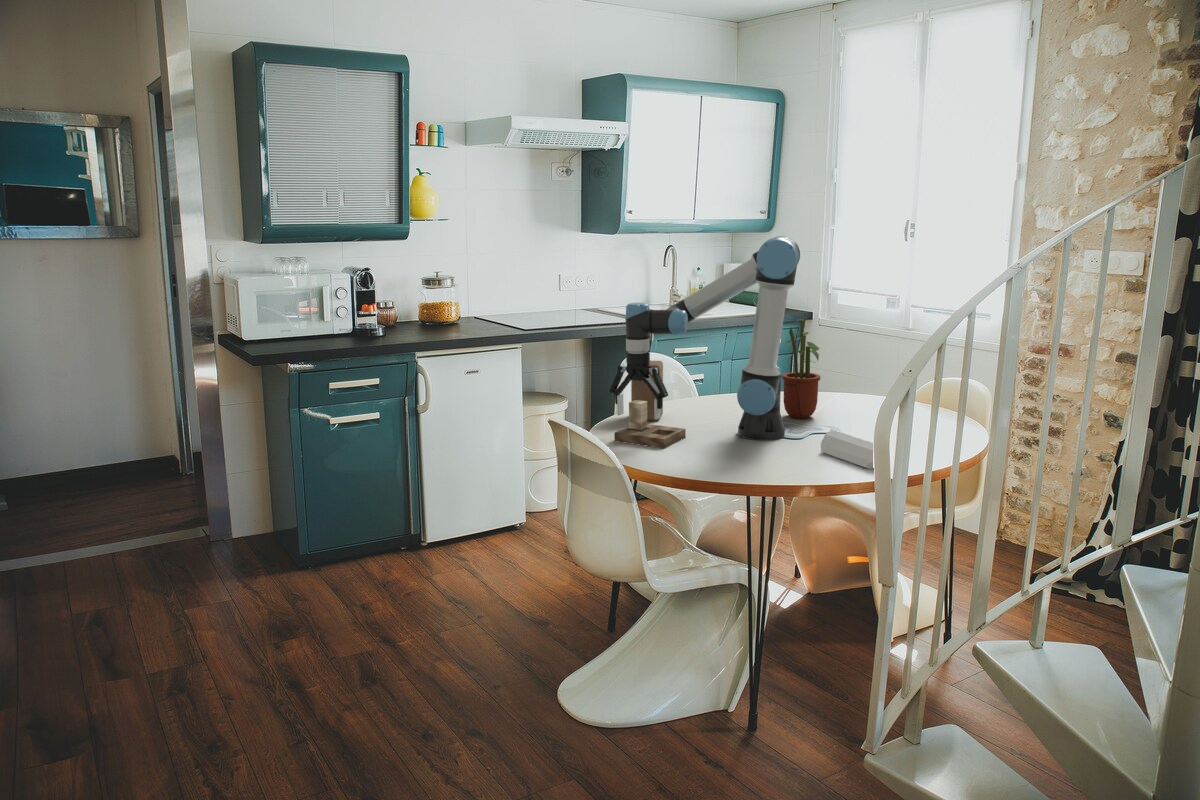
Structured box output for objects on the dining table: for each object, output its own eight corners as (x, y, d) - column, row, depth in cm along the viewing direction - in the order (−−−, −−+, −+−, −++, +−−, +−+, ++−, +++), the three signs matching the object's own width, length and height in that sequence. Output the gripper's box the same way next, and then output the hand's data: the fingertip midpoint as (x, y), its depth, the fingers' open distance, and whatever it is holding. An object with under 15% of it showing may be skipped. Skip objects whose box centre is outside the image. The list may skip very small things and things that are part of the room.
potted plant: (816, 422, 321) (820, 321, 314) (771, 419, 326) (774, 320, 319) (821, 411, 337) (825, 315, 330) (778, 408, 342) (781, 313, 335)
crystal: (896, 454, 268) (840, 435, 289) (880, 445, 264) (824, 427, 285) (885, 477, 267) (829, 457, 288) (869, 468, 264) (814, 448, 285)
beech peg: (647, 437, 304) (647, 401, 301) (640, 440, 300) (640, 404, 298) (635, 435, 306) (635, 399, 304) (628, 438, 303) (628, 402, 300)
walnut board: (685, 437, 303) (685, 428, 302) (664, 448, 290) (664, 439, 290) (636, 431, 312) (636, 422, 311) (614, 441, 299) (614, 432, 299)
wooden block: (659, 421, 325) (659, 365, 320) (630, 420, 326) (630, 364, 322) (663, 415, 334) (663, 360, 330) (635, 414, 336) (635, 359, 332)
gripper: (678, 352, 294) (678, 417, 298) (610, 347, 307) (611, 410, 311) (667, 355, 288) (667, 422, 292) (598, 350, 300) (599, 414, 305)
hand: (638, 416), depth 302 cm, fingers open, 13 cm apart
